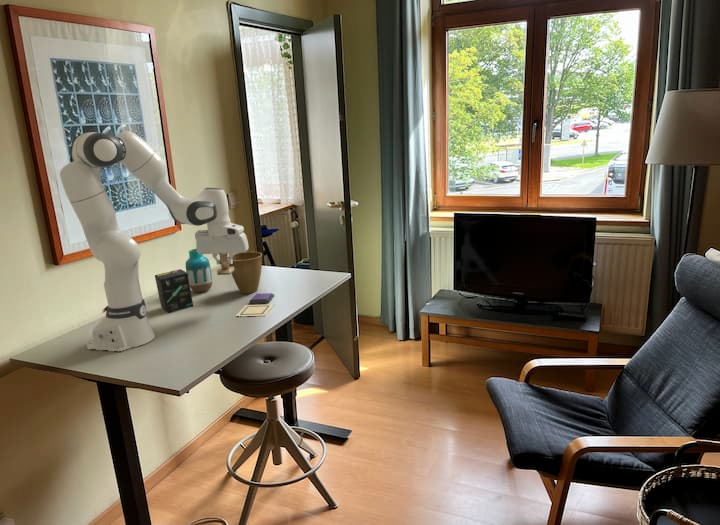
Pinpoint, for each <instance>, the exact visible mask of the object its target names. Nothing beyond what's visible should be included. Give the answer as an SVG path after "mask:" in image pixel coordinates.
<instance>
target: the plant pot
mask: <svg viewBox="0 0 720 525" xmlns="http://www.w3.org/2000/svg"><path fill="white" fill-rule="evenodd" d="M228 259H230V256H229V255H228ZM232 261H233V263H232V264H229V267H234V272H232V273H231V276H232V278H233V280H234V283H235V284H236V286H237V289H238V291H239V292H240V294H252V292H253V293H255V292H257V291H258V289H259V285H260V280H261V276H262V275H261V274H262V264H263V253H262V252H258V251H246V252H244V253H234V256H233V259H232Z"/></svg>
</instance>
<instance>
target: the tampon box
mask: <svg viewBox="0 0 720 525" xmlns="http://www.w3.org/2000/svg"><path fill="white" fill-rule="evenodd" d="M154 279H155V283H156V289H157V293H158V297H159V303H160V307H161V309H163V310H164V311H165V312H166V313H167V314H170V313H174V312H178V311H181V310H183V309H188V308H191V307H194V302H193V296H192V292H191V290H192V289H191V288H190V285H189V279H188V273H186V270H183V269H181V268H180V269H179V268H178V269H175V270H171V271H166V272H162V273H159V274H155V275H154Z"/></svg>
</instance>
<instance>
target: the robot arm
mask: <svg viewBox="0 0 720 525" xmlns="http://www.w3.org/2000/svg"><path fill="white" fill-rule="evenodd" d="M69 154H70V156H69V163H67V164H65V165H63V167H62V168H61V169H60V172H59V177H60V180H61V184H62V186H63V189H64V193H65V194H66V197H67V200H68V202H69V203H70V205H71V207H72V209H73V211H74V213H75V214H76V217H77V219H78V220H79V223H80V225H81V226H82V230H83V233H84V236H85V239H86V242H87V245H88V247H89V251H90V253H91V254H92V255H93V257H94V258H95V259H96V260H98V261H99V262H101V263H103V266H104V283H103V288H104V291H105V297H106V301H107V306H105V307H104V308H103V309H102V312H101V313H103V314H104V313H105V312H106V313H105V316H104V318H102V320H101V321H99V323H97V324H96V325H95V326H94V328H93V330H92V339H91V340H90V341H89V342H88V343H87V344H86V349H87V348H89V349H88V350H91V349H96V350H95V351H102V350H108V351H107V352H114V351H118V352H117V353H119V351H121V352H124V351H127V350H129V349H133V348H137V347H140V346H142V345H145V344H147V343H149V342H151V341H152V340H154V339H155V337H156V334H155V332H154V331H153V328H152V326H151V324H150V321H149V319H148V316H147V306H146V303H145V302H146V301H145V299H144V298H143V293H142V288H141V285H140V284H141V283H140V278H139V265H140V264H139V263H140V262H139V260H140V258H141V253H142V252H141V248H140V245H139V243H137V241H136V240H134V239H133V238H132V237H131V236H129V235H126V234H123V233H122V232H121V230H120V228H119V225H118V220H117V216H116V213H117V212H116V209H115V207H114V205H113V203H112V201H111V199H110V198H109V197H110V196H109V194H108V193H107V191H106V189H105V187H104V185H103V183H102V182H101V177H100V170H101V168H108V167H112V166H113V165H115V164H117V163H119V164H121V165H122V166H124V168H125V169H126V170H128V171H129V173H130V174H132V175H133V176H134V177H135V178H136V179H138V180H139V181H140V182H141V183H143V184H144V185H145V186H146V187H148V188H149V189H150V190H151V191H152V192H153V193H154V194H155V195H156V197H157V198H158V199H159V200H161V201H162V202H163V204H164V205H165V206H166V207H167V209H168V211H169V214H170V216H171V218H172V219H173V220H174V221H175V222H176V223H177V224H181V225H190V226H196V227H197V226H202V225H206V226H207V229H204V230H201V229H200V230H199V229H198V230H197V231H195V234H194V237H195V238H194V239H195V241H196V242H195V245H196V246H195V247H196V248H195V249H197V252H198V254H203V255H211V256H212V257H213V259H214V260H215V262H216V265H217V266H218V265H221V262H220V257H219V256H218V255H219V254H218V253H228V257H229V256H230V259H228V260H227V262H228V264H232V263H233V261H232V259H233V256H234V254H237V253H244V252H248V251H249V248H250V246H249V241H248V240H249V239H248V236H247V235H246V233H245V232H244V230H245V227H244V226H243V225H240V224H237V223H232V222H231V218H230V215H229V213H230V212H229V210H230V208H229V203H228V202H229V201H228V198H227V194H226V191H225V190H224V189H222V188H220V187H219V188H218V187H204V188H203V190H202V191H201V192H200V193H199V194H198V195H196V196H195V197H193V198H188V197H185V196H183V195H181V194H180V193H179V192H178V191H177V190H176V189H175V188H174V187H173V186H172V185H171V184H170V183H169V181H168V180H167V179H166V174H167V171H168V170H167V169H168V168H167V167H168V166H167V164H166V162H165V161H164V159H163V158H162V157H161V155H160V154H159V153H158V152H157V150H155V149H154V148H153V147H152V146H151V145H150V144H149V143H148V142H146V141H145V140H144V139H143V138H142V137H140V136H138V135H137V134H136V133H134V132H133V131H129V130H123V131H121V132H119V133H117V134H116V135H112V134H110V133H106V132H96V131H91V132H84V133H80V134H79V135H76V137H75V138H73V140H72V141H71V145H70V153H69ZM132 347H133V348H132ZM126 349H127V350H126ZM123 350H124V351H123Z"/></svg>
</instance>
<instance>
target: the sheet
mask: <svg viewBox="0 0 720 525" xmlns="http://www.w3.org/2000/svg"><path fill="white" fill-rule="evenodd" d="M273 305H274V306H275V304H274V303H273V304H270V303H267V304H245V305H244V306H243V307H242V308H241V309H240V310H239V311H238V312H237V313H236V315H235V316H239V317H238V318H241V317H240V316H246V317H247V316H256V317H266V316H267V315H268V313H269V312H270V311H271V310H272V309H273V307H274V306H273ZM270 309H271V310H270ZM266 314H267V315H266ZM246 317H245V318H246Z"/></svg>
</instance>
